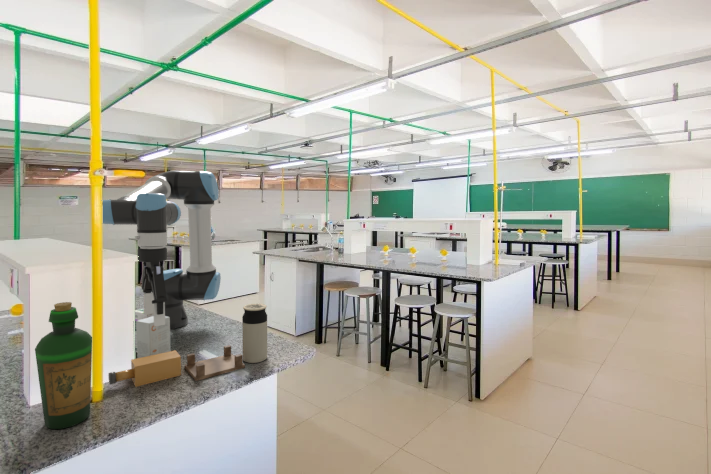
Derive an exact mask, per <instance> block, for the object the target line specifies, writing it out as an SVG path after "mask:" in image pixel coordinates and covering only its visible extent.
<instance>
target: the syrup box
mask: <svg viewBox="0 0 711 474" xmlns="http://www.w3.org/2000/svg"><path fill="white" fill-rule="evenodd" d="M134 311H135V352H134V353H137V333H136V321H138V320H141V319H145V318H148V317H151V316H154V314H148V315H144V307H143V308H138V309H135V310H134Z"/></svg>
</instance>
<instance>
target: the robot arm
mask: <svg viewBox="0 0 711 474" xmlns="http://www.w3.org/2000/svg"><path fill="white" fill-rule="evenodd" d="M218 199H219V185H218V181H217V177H216V176H215V174H214V173H213V172H211V171H204V170H199V171H198V170H170V171H168V170H167V171H164V172H161V173H159V174H155V175H154V176H151V177H150V178H148V179H147V180H146V181H145V182H144V184H143V185H141V186H139V187H137V188H135V189H133V190H132V191H130V192H128V193H126V194H124V195H123V196H121V197H118V198H117V199H102V200H103V223H102V224H104V225H113V226H115V225H117V226H118V225H119V226H121V225H129V226H130V225H131V226H132V225H134V226H135V225H136V236H134V239H135V240H137V246H138V247H139V248H137V260H139V261H138V262H139V263H140V262H141V263H142V264H143V268H142V270H143V271H142V282H141V290H142V292H143V308H144V315H148V314H154V326H160V325H165V316H168V317H170V330H174V329H179V328H181V327H185V326H187V325H188V323H189V317H188V314H187V312H186V310H185V306H184V301H209V300H210V301H211V300H214V299H216V298H217V296H218V294H219V292H220V291H219V290H220V286H221V280H222V279H221V278H222V277H221V273H220V272H218V271H217V267H216V266H215V265H214V264H213V256H212V255H213V254H212V253H213V251H212V250H213V249H212V219H211V218H212V217H211V216H212V215H211V213H212V211H211V209H212V207H213V206H214V205H215V201H218ZM170 200H181V201H182V200H183V205H184V206H186V208H187V212H188V213H187V214H188V241H189V242H188V243H189V244H188V245H189V266H188V267H187V268H186V272H184V270H183V269H182V268H172V269H165V270H164V265H163V266H161V264H160V262H165V261H167V260H168V248H167V247H166V246H168V230H167V227H168V226H171V225H173V224H176V223H177V222H178V221H179V220H180V218H181V216H182V211H181V210H182V209H181V208H180V205H178V204H177V203H176V202H173V201H170ZM138 256H139V257H140V259H139V257H138Z"/></svg>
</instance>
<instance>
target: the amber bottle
mask: <svg viewBox="0 0 711 474" xmlns="http://www.w3.org/2000/svg"><path fill="white" fill-rule="evenodd" d="M181 356H182V355H180V354H179V352H178V351H177V350H175V349H174V350H171V351H169V352H165V353H160V354H155V355H151V356H146V357H141V358H132V359H131V360H130V363H131V365H130V366H131V368H129V369H126V370H120V371H117V372H116V371H111V372H108V375H107V376H108V384H109V385H110V386H111V385H115V384H117V383H118V382H121V381H127V380H132V382H133V385H134V387H135V388H137V387H140V386H144V385H148V384H152V383H156V382H160V381H164V380H167V379H172V378H176V377H180V376H182V357H181Z"/></svg>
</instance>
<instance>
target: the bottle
mask: <svg viewBox="0 0 711 474" xmlns="http://www.w3.org/2000/svg"><path fill="white" fill-rule="evenodd" d="M53 306H54V309H51V310H50V312H49V317H48V323H51V324H52V325H51V326H52V331H50V332H49V333H47V334H46V335H44V336H43V337H41V339H40V340H39V341H38V343H37V345H36V346H35V348H34V351H35V361H36V368H37V376H38V383H39V389H40V390H39V391H40V399H41V406H42V413H43V414H42V415H43V421H44V426H45V427H46V428H48V429H50V430H58V429H59V430H61V429H66V428H67V429H68V428H71V427H73V426H76V425H78V424H80V423H82V422H84V421H85V420H86V419H88V418H89V417H90V415H91V394H92V391H91V390H92V388H91V387H92V361H93V360H92V358H93V357H92V354H93V352H92V351H93V336H92V335H91V334H90V333H89V332H87V331H86V330H83V329H81V328H78V327H76V320H77V319H79V315H78V311H77V307H75V306H72V302H71V301H69V302H68V301H65V302H58V303H55V304H53Z"/></svg>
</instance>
